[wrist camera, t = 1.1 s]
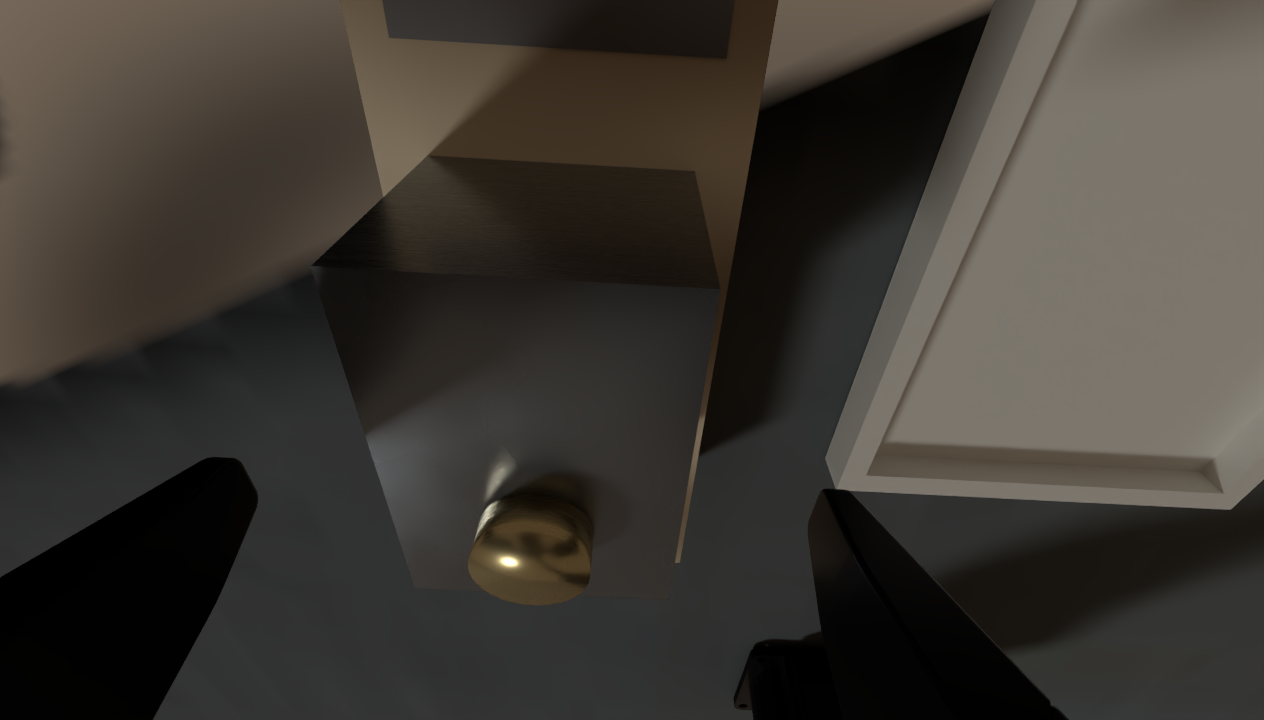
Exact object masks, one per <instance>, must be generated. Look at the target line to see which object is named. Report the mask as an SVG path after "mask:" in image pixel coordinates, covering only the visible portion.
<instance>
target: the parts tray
mask: <svg viewBox="0 0 1264 720" xmlns="http://www.w3.org/2000/svg"><path fill="white" fill-rule="evenodd" d="M825 459H826V462H827V465H828V468H829V471H830V474H831V476H832V479H833V482H834V485H835V488H836V489H844V490H848V491H867V492H887V493H907V494H927V495H947V496H967V497H987V498H1006V499H1026V500H1046V501H1066V502H1086V503H1106V504H1125V505H1145V506H1165V507H1185V508H1205V509H1225V510H1231V509H1232V508H1233V507H1234V506H1235V505H1236V504H1237V503H1238V502H1240V501H1241V500H1242V499H1243V498H1244V497H1245V496H1246V495H1247V494H1248V493H1249V492H1250V491H1251V490H1253V489H1254V488H1255V487H1256V486H1257V485H1258V484H1259V483H1260V482H1261V481H1262V480H1263V479H1264V0H995V2H994V4H993V7H992V10H991V13H990V15H989V18H988V21H987V23H986V26H985V29H984V31H983V34H982V37H981V39H980V42H979V45H978V48H977V50H976V53H975V56H974V58H973V61H972V64H971V66H970V69H969V72H968V74H967V77H966V80H965V83H964V85H963V88H962V91H961V93H960V96H959V99H958V101H957V104H956V107H955V110H954V112H953V115H952V118H951V120H950V123H949V126H948V128H947V131H946V134H945V136H944V139H943V142H942V145H941V147H940V150H939V153H938V155H937V158H936V161H935V163H934V166H933V169H932V171H931V174H930V177H929V180H928V182H927V185H926V188H925V190H924V193H923V196H922V198H921V201H920V204H919V207H918V209H917V212H916V215H915V217H914V220H913V223H912V225H911V228H910V231H909V233H908V236H907V239H906V242H905V244H904V247H903V250H902V252H901V255H900V258H899V260H898V263H897V266H896V268H895V271H894V274H893V277H892V279H891V282H890V285H889V287H888V290H887V293H886V295H885V298H884V301H883V304H882V306H881V309H880V312H879V314H878V317H877V320H876V322H875V325H874V328H873V330H872V333H871V336H870V339H869V341H868V344H867V347H866V349H865V352H864V355H863V357H862V360H861V363H860V365H859V368H858V371H857V374H856V376H855V379H854V382H853V384H852V387H851V390H850V392H849V395H848V398H847V401H846V403H845V406H844V409H843V411H842V414H841V417H840V419H839V422H838V425H837V427H836V430H835V433H834V436H833V438H832V441H831V444H830V446H829V449H828V452H827V454H826V457H825Z"/></svg>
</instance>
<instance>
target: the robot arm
mask: <svg viewBox="0 0 1264 720" xmlns="http://www.w3.org/2000/svg"><path fill="white" fill-rule="evenodd" d="M257 504H258V494H257V491H256V489H255V487H254V485H253V483H252V481H251V479H250V477H249V475H248V474H247V472H246V470H245V468H244V466H243V464H242V463H241V462H240V461H239V460H237V459H235V458H222V457H210V458H206V459H204V460H202V461H200V462H198V463H196V464H195V465H193V466H191V467H189V468H188V469H186V470H184V471H182V472H181V473H179V474H177V475H176V476H174V477H172V478H170V479H169V480H167V481H165V482H164V483H162V484H160V485H158V486H157V487H155V488H153V489H152V490H150V491H148V492H146V493H145V494H143V495H141V496H139V497H138V498H136V499H134V500H133V501H131V502H129V503H127V504H126V505H124V506H122V507H121V508H119V509H117V510H115V511H114V512H112V513H110V514H109V515H107V516H105V517H103V518H102V519H100V520H98V521H96V522H95V523H93V524H91V525H90V526H88V527H86V528H84V529H83V530H81V531H79V532H78V533H76V534H74V535H72V536H71V537H69V538H67V539H66V540H64V541H62V542H60V543H59V544H57V545H55V546H53V547H52V548H50V549H48V550H47V551H45V552H43V553H41V554H40V555H38V556H36V557H35V558H33V559H31V560H29V561H28V562H26V563H24V564H22V565H21V566H19V567H17V568H16V569H14V570H12V571H10V572H9V573H7V574H5V575H4V576H2V577H0V720H153V718H154V716H155V715H156V713H157V711H158V709H159V707H160V705H161V704H162V702H163V700H164V698H165V696H166V694H167V693H168V691H169V689H170V687H171V685H172V683H173V682H174V680H175V678H176V676H177V674H178V672H179V671H180V669H181V667H182V665H183V663H184V661H185V660H186V658H187V656H188V654H189V652H190V650H191V649H192V647H193V645H194V643H195V641H196V639H197V638H198V636H199V634H200V632H201V630H202V628H203V627H204V625H205V623H206V621H207V619H208V617H209V615H210V614H211V612H212V610H213V608H214V606H215V604H216V602H217V600H218V597H219V595H220V593H221V591H222V589H223V587H224V584H225V582H226V580H227V577H228V575H229V573H230V570H231V568H232V565H233V563H234V561H235V558H236V556H237V554H238V551H239V549H240V546H241V544H242V542H243V539H244V537H245V535H246V532H247V530H248V528H249V525H250V523H251V520H252V518H253V516H254V513H255V511H256V508H257ZM808 539H809V547H810V554H811V561H812V568H813V576H814V583H815V590H816V597H817V604H818V612H819V618H820V624H821V631H822V635H823V640H824V644H825V648H826V650H810V649H789V648H767V647H758V648H754V649H752V650H751V652H750V654H749V657H748V660H747V663H746V665H745V668H744V671H743V674H742V676H741V679H740V682H739V684H738V687H737V690H736V693H735V695H734V706H735V708H736V709H740V710H752V713H753V720H1069V719H1068V718H1067V717H1066V716H1065V715H1064V714H1063V713H1062V712H1061V711H1060V710H1059V709H1058V708H1057V707H1056V706H1053V705H1052V706H1051V704H1050V700H1049V699H1048V698H1047V697H1046V696H1045V695H1044V693H1043V692H1042V691H1041V690H1040V689H1039V688H1038V687H1037V686H1036V685H1035V684H1034V683H1033V682H1032V681H1031V680H1030V679H1029V678H1028V677H1027V676H1026V675H1025V674H1024V673H1023V671H1022V670H1021V669H1020V668H1019V667H1018V666H1017V665H1016V664H1015V663H1014V662H1013V661H1012V660H1011V659H1010V658H1009V657H1008V656H1007V655H1006V654H1005V653H1004V652H1003V650H1002V649H1001V648H1000V647H999V646H998V645H997V644H996V643H995V642H994V641H993V640H992V639H991V638H990V637H989V636H988V635H987V634H986V633H985V632H984V631H983V629H982V628H981V627H980V626H979V625H978V624H977V623H976V622H975V621H974V620H973V619H972V618H971V617H970V616H969V615H968V614H967V613H966V612H965V611H964V610H963V608H962V607H961V606H960V605H959V604H958V603H957V602H956V601H955V600H954V599H953V598H952V597H951V596H950V595H949V594H948V593H947V592H946V591H945V590H944V589H943V587H942V586H941V585H940V584H939V583H938V582H937V581H936V580H935V579H934V578H933V577H932V576H931V575H930V574H929V573H928V572H927V571H926V570H925V569H924V568H923V567H922V565H921V564H920V563H919V562H918V561H917V560H916V559H915V558H914V557H913V556H912V555H911V554H910V553H909V552H908V551H907V550H906V549H905V548H904V547H903V546H902V544H901V543H900V542H899V541H898V540H897V539H896V538H895V537H894V536H893V535H892V534H891V533H890V532H889V531H888V530H887V529H886V528H885V527H884V526H883V525H882V523H881V522H880V521H879V520H878V519H877V518H876V517H875V516H874V515H873V514H872V513H871V512H870V511H869V510H868V509H867V508H866V507H865V506H864V505H863V504H862V502H861V501H860V500H859V499H858V498H857V497H856V496H855V495H854V494H853V493H851V492H850V491H848V490H844V489H823V490H822V491H821V492H820V494H819V496H818V498H817V501H816V503H815V506H814V509H813V511H812V514H811V517H810V519H809V523H808Z"/></svg>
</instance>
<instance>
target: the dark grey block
mask: <svg viewBox="0 0 1264 720" xmlns="http://www.w3.org/2000/svg"><path fill="white" fill-rule="evenodd" d="M310 267H311V270H312V273H313V276H314V279H315V282H316V285H317V288H318V291H319V295H320V298H321V301H322V304H323V307H324V310H325V313H326V316H327V319H328V322H329V325H330V328H331V331H332V335H333V338H334V341H335V344H336V347H337V350H338V353H339V356H340V359H341V362H342V365H343V368H344V371H345V375H346V378H347V381H348V384H349V387H350V390H351V393H352V396H353V399H354V402H355V405H356V408H357V411H358V415H359V418H360V421H361V424H362V427H363V430H364V433H365V436H366V439H367V442H368V445H369V448H370V451H371V455H372V458H373V461H374V464H375V467H376V470H377V473H378V476H379V479H380V482H381V485H382V488H383V491H384V495H385V498H386V501H387V504H388V507H389V510H390V513H391V516H392V519H393V522H394V525H395V528H396V531H397V535H398V538H399V541H400V544H401V547H402V550H403V553H404V556H405V559H406V562H407V565H408V568H409V571H410V575H411V578H412V581H413V584H414V587H415V588H428V589H449V590H470V591H487V592H488V593H490V594H492V595H494V596H496V597H498V598H501V599H503V600H507V601H510V602H514V603H519V604H526V605H549V604H556V603H560V602H564V601H567V600H569V599H572V598H574V597H575V596H597V597H618V598H639V599H661V600H669V595H670V589H671V583H672V577H673V571H674V565H675V559H676V553H677V547H678V541H679V535H680V529H681V523H682V517H683V511H684V505H685V499H686V493H687V487H688V481H689V475H690V470H691V464H692V458H693V452H694V446H695V440H696V434H697V428H698V422H699V416H700V410H701V404H702V398H703V392H704V386H705V380H706V374H707V368H708V362H709V356H710V350H711V344H712V338H713V332H714V326H715V320H716V314H717V308H718V302H719V296H720V290H721V289H720V284H719V280H718V275H717V270H716V266H715V261H714V257H713V252H712V248H711V243H710V238H709V234H708V229H707V225H706V220H705V216H704V211H703V207H702V202H701V197H700V193H699V188H698V184H697V179H696V175H695V171H684V170H667V169H650V168H633V167H616V166H599V165H582V164H565V163H548V162H531V161H514V160H497V159H479V158H462V157H445V156H428V155H427V156H426V157H425V158H424V159H423V160H422V161H421V162H420V163H419V164H418V165H417V166H416V167H415V168H414V169H413V170H412V171H411V172H409V173H408V174H407V175H406V176H405V177H404V178H403V179H402V180H401V181H400V182H399V183H398V184H397V185H396V186H395V187H394V188H393V189H392V190H390V191H389V192H388V193H387V194H386V195H385V196H384V197H383V198H382V199H381V200H380V201H379V202H378V203H377V204H376V205H375V206H374V207H373V208H371V210H369V211H368V212H367V213H366V214H365V215H364V216H363V217H362V218H361V219H360V220H359V221H358V222H357V223H356V224H355V225H354V226H352V227H351V228H350V229H349V230H348V231H347V232H346V233H345V234H344V235H343V236H342V237H341V238H340V239H339V240H338V241H337V242H336V243H335V244H333V245H332V246H331V247H330V248H329V249H328V250H327V251H326V252H325V253H324V254H323V255H322V256H321V257H320V258H319V259H318V260H317V261H316V262H314V263H313V264H312V265H311V266H310Z"/></svg>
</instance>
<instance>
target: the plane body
mask: <svg viewBox="0 0 1264 720" xmlns="http://www.w3.org/2000/svg"><path fill="white" fill-rule="evenodd" d="M340 2H341V7H342V11H343V15H344V20H345V24H346V29H347V33H348V38H349V43H350V47H351V52H352V56H353V61H354V66H355V70H356V75H357V79H358V84H359V88H360V93H361V97H362V102H363V106H364V111H365V115H366V120H367V125H368V129H369V134H370V138H371V143H372V147H373V152H374V156H375V161H376V166H377V170H378V174H379V179H380V183H381V188H382V192H383V197H384V196H385V195H386V194H387V193H388V192H389V191H390V190H392V189H393V188H394V187H395V186H396V185H397V184H398V183H399V182H400V181H401V180H402V179H403V178H404V177H405V176H406V175H407V174H408V173H409V172H411V171H412V170H413V169H414V168H415V167H416V166H417V165H418V164H419V163H420V162H421V161H422V160H423V159H424V158H425V157H426V156H427V155H428V156H445V157H462V158H479V159H497V160H514V161H531V162H548V163H565V164H582V165H599V166H616V167H633V168H650V169H667V170H684V171H695V175H696V179H697V184H698V188H699V193H700V197H701V202H702V207H703V211H704V216H705V220H706V225H707V229H708V234H709V238H710V243H711V248H712V252H713V257H714V261H715V266H716V270H717V275H718V280H719V284H720V289H721V290H720V296H719V302H718V308H717V314H716V320H715V326H714V332H713V338H712V344H711V350H710V356H709V362H708V368H707V374H706V380H705V386H704V392H703V398H702V404H701V410H700V416H699V422H698V428H697V434H696V440H695V446H694V452H693V458H692V464H691V470H690V475H689V481H688V487H687V493H686V499H685V505H684V511H683V517H682V523H681V529H680V535H679V541H678V547H677V553H676V559H675V563H680V557H681V552H682V546H683V540H684V535H685V529H686V523H687V518H688V512H689V506H690V500H691V495H692V489H693V483H694V478H695V472H696V466H697V461H698V455H699V449H700V443H701V438H702V432H703V426H704V421H705V415H706V409H707V404H708V398H709V392H710V386H711V381H712V375H713V369H714V364H715V358H716V352H717V347H718V341H719V335H720V329H721V324H722V318H723V312H724V307H725V301H726V295H727V290H728V284H729V278H730V272H731V267H732V261H733V255H734V250H735V244H736V238H737V233H738V227H739V221H740V215H741V210H742V204H743V198H744V193H745V187H746V181H747V176H748V170H749V164H750V158H751V153H752V147H753V141H754V136H755V130H756V124H757V119H758V113H759V107H760V101H761V96H762V90H763V84H764V79H765V73H766V67H767V61H768V56H769V50H770V44H771V39H772V33H773V27H774V22H775V16H776V10H777V5H778V0H340Z"/></svg>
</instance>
